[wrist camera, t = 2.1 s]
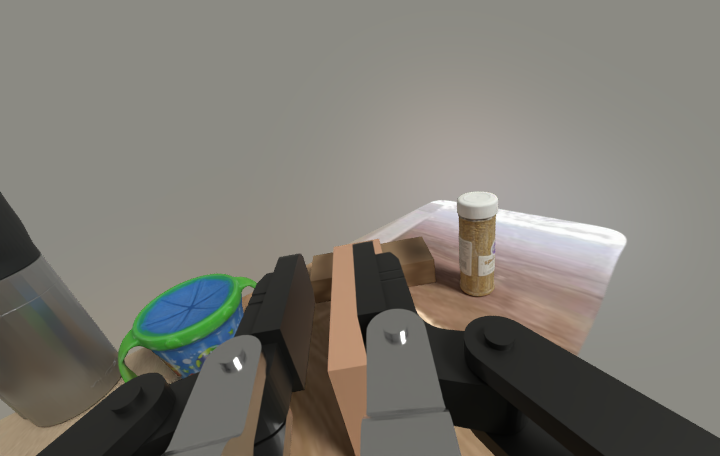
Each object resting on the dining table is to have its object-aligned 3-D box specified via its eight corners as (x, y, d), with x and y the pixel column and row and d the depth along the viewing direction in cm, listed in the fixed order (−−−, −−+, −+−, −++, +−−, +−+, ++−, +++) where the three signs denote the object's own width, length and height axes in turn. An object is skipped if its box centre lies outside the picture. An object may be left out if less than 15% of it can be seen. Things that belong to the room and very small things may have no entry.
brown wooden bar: (315, 303, 43) (309, 281, 41) (319, 275, 49) (313, 255, 48) (435, 282, 43) (434, 259, 41) (423, 257, 49) (421, 236, 47)
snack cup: (268, 311, 43) (245, 253, 39) (297, 354, 35) (271, 288, 31) (150, 375, 36) (105, 314, 32) (152, 447, 28) (91, 379, 24)
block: (359, 468, 24) (327, 371, 18) (352, 324, 38) (333, 246, 33) (422, 458, 24) (408, 357, 18) (391, 318, 38) (378, 238, 33)
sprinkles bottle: (496, 298, 38) (501, 203, 32) (459, 297, 39) (457, 205, 33) (492, 276, 42) (495, 188, 36) (458, 276, 43) (456, 191, 37)
